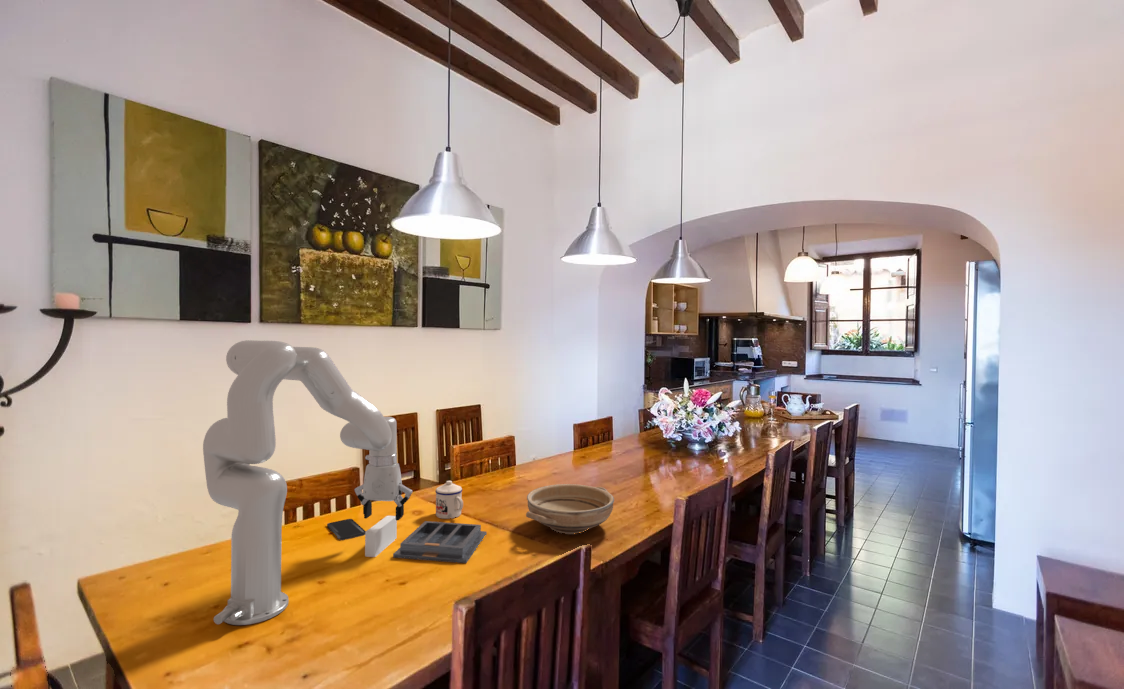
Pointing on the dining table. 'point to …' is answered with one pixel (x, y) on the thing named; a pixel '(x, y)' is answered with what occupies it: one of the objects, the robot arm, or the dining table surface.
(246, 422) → the robot arm
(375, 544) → the panel
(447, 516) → the teacup with lid
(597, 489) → the ceramic bowl
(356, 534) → the phone
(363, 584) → the dining table surface
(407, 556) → the rack
